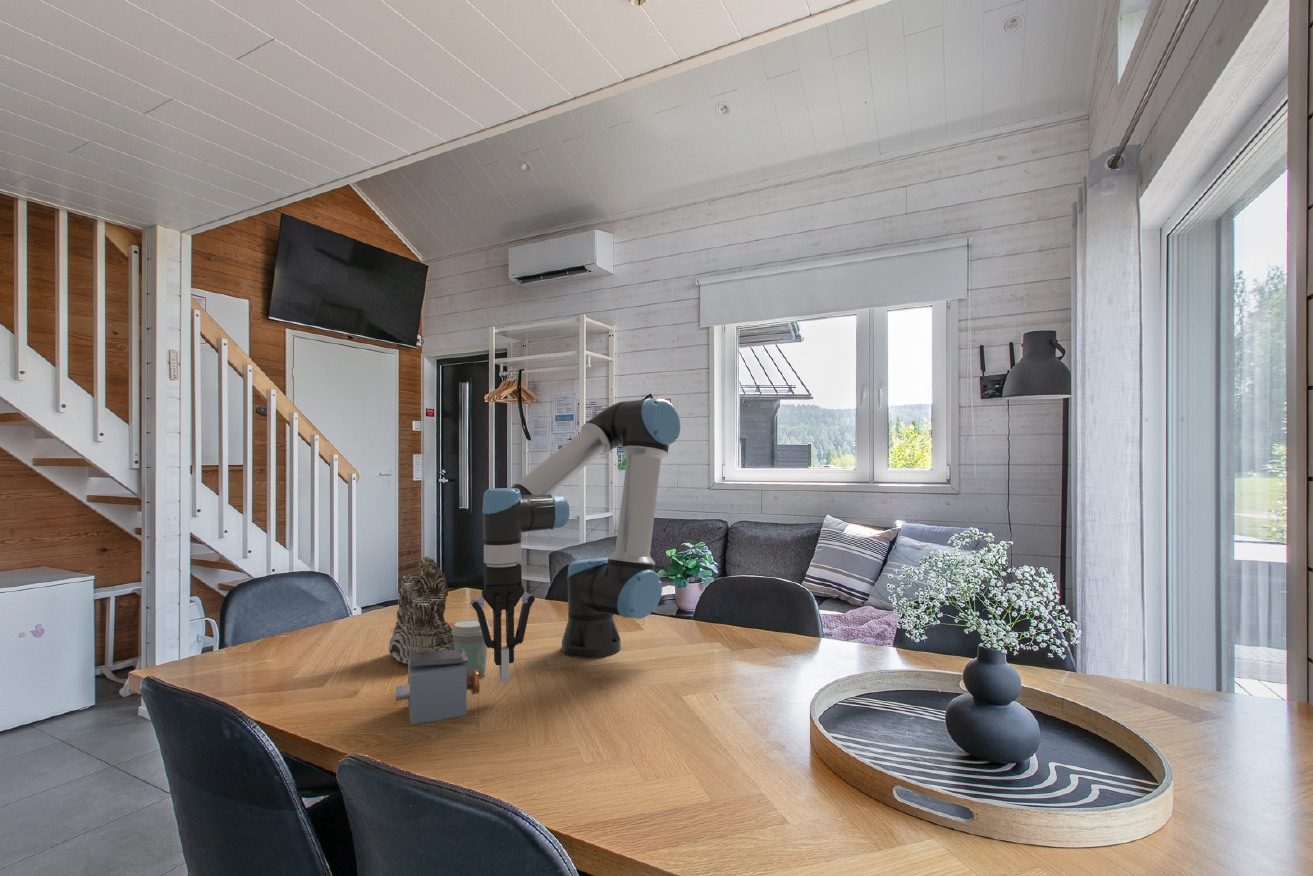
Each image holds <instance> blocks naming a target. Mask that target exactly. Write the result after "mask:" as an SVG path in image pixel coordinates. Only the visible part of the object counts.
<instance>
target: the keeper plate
mask: <svg viewBox="0 0 1313 876" xmlns="http://www.w3.org/2000/svg"><path fill="white" fill-rule="evenodd" d="M409 661H410V666H423V665H439V664H456V663H467V662H468V661H469V659H468V657H467V655H466V653H465V651H464V649H463V648H461V649H459V650H445V651H427V652H409Z"/></svg>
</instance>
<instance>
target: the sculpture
mask: <svg viewBox="0 0 1313 876" xmlns="http://www.w3.org/2000/svg"><path fill="white" fill-rule="evenodd" d="M418 566H419V567H418V568H419V570H420V571H421V573H420V574H419V575H418V576H417V575H413V574H406V575H404V576H402V578H401V580H400V586H401V588H400V589H399V592H398V593H399V594H398V596H397V601H398V603H397V604H398V609H397V610H396V623H395V626H394V629H393V631H392V636H391V638H390V639H389V643H388V645H389V647H388V653H389V654H390V655H392V657H393V658H395V659H396V661H398V662H399V663H403V664H406V665H408V661H409V652H427V651H445V650H455V648H454V640H453V635H452V629H453V628H452V627H451V626H450V625H449V623H448V622H447V621H446V619H445V616H444V615H445V611H446V603H447V597H448V596H449V586H448V582H447V578H446V576H445V573H443V570H442V569H441V568H440V567H439V566H438V564H437V562H436V561H435V559H434V558H433V559H432V558H431V557H430V556H429V555H426V556H422V558H420V559H419V562H418Z"/></svg>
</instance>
